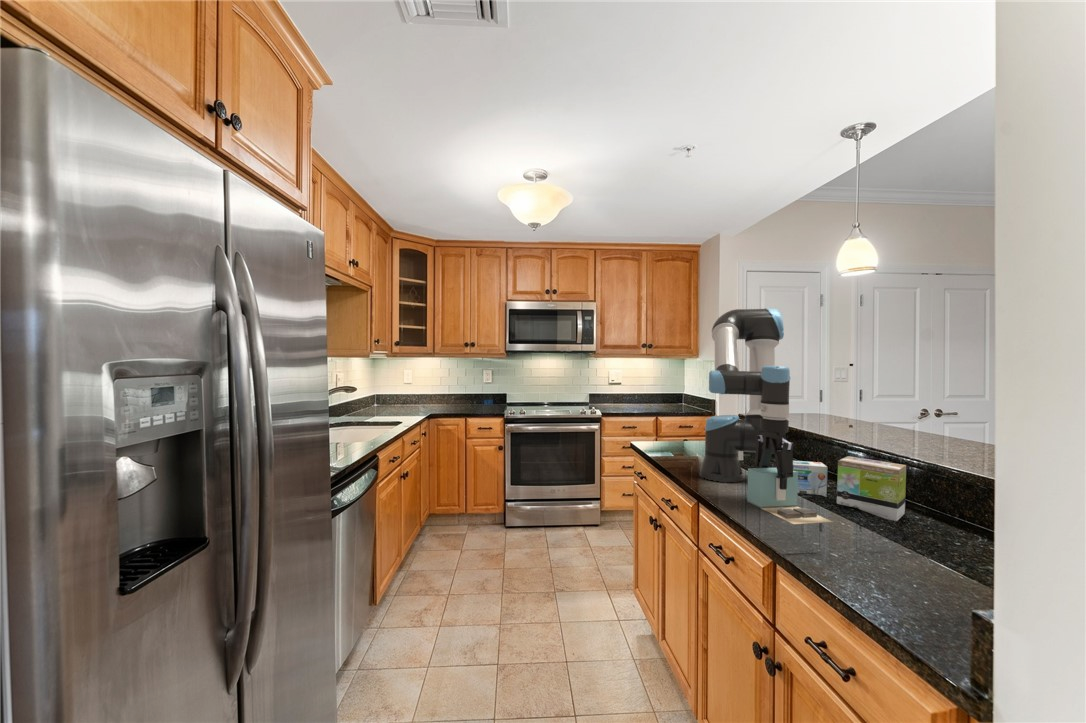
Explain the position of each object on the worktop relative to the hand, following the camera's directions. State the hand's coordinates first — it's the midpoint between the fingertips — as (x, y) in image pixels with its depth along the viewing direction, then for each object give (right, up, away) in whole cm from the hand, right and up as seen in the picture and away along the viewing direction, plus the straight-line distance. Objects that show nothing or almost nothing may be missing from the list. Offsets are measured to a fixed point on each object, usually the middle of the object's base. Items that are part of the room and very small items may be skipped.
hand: (772, 496), depth 136 cm
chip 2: (+4, -2, -9) cm, 10 cm away
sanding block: (0, -2, 0) cm, 2 cm away
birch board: (+1, -4, -7) cm, 8 cm away
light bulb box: (+19, -4, +15) cm, 24 cm away
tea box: (+29, -5, 0) cm, 29 cm away
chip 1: (-1, -2, -10) cm, 10 cm away
